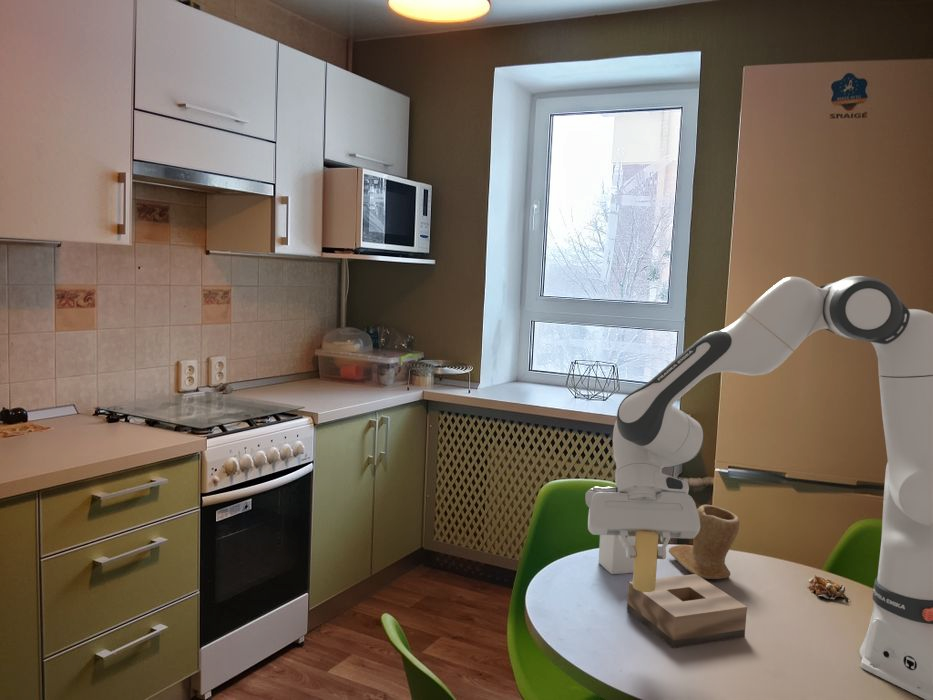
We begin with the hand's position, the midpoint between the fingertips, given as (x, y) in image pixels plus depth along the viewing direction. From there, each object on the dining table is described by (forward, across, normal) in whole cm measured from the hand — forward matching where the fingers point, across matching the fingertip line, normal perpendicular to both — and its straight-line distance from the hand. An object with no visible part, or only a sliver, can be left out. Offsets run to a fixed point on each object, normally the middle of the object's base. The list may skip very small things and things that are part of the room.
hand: (646, 557), depth 142 cm
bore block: (+4, +10, +21) cm, 23 cm away
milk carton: (-15, +2, +40) cm, 42 cm away
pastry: (-10, +46, +36) cm, 59 cm away
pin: (+4, 0, +5) cm, 6 cm away
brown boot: (-16, +22, +41) cm, 49 cm away
